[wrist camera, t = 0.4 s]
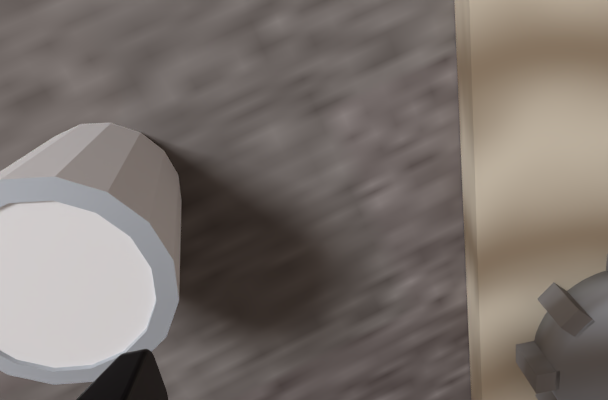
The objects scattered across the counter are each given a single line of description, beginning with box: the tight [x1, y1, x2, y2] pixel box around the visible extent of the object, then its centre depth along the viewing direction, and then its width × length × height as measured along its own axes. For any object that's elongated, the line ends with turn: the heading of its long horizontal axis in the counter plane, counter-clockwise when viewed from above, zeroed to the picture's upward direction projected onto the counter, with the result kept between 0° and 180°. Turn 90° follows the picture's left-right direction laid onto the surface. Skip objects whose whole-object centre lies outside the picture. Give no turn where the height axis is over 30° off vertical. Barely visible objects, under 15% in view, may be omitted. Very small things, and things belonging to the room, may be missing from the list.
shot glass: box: [0, 123, 182, 385], centre depth 19 cm, size 7×7×7 cm
